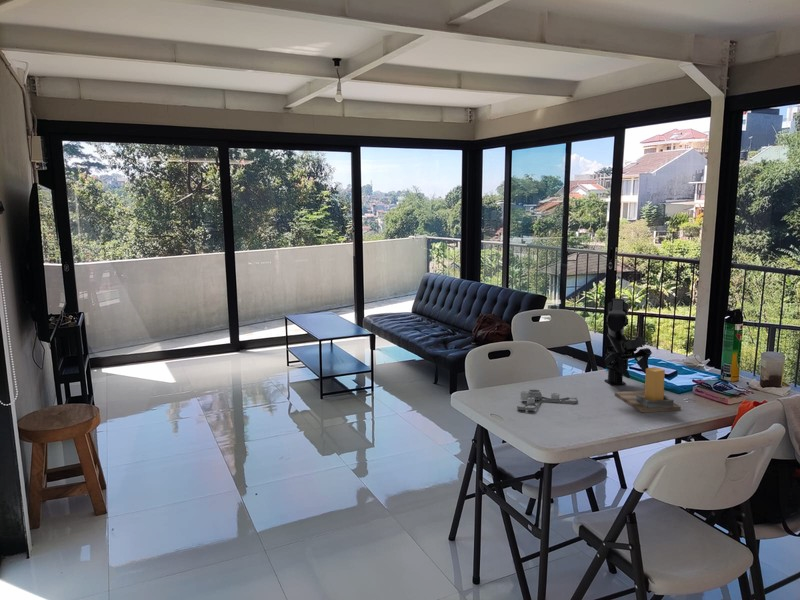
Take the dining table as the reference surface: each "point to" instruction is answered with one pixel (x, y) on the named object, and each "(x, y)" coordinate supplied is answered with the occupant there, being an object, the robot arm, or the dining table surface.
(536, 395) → the pulley system
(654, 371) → the block
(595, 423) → the dining table surface
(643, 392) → the keeper
